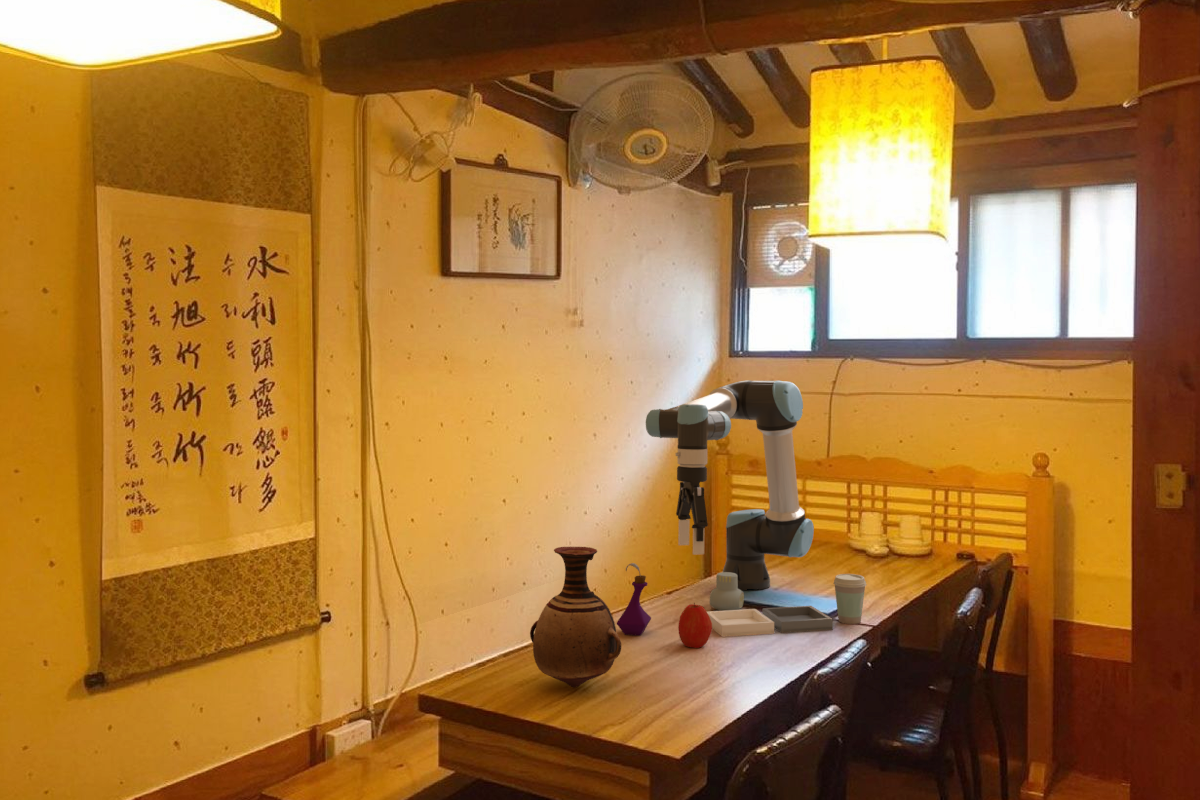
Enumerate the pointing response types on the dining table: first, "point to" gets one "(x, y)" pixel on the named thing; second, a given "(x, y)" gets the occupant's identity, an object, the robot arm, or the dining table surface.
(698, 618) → the apple
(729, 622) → the beige square dish
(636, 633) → the perfume bottle
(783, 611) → the grey square tray
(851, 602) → the coffee cup
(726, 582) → the air freshener
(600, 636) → the vase
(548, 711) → the dining table surface
